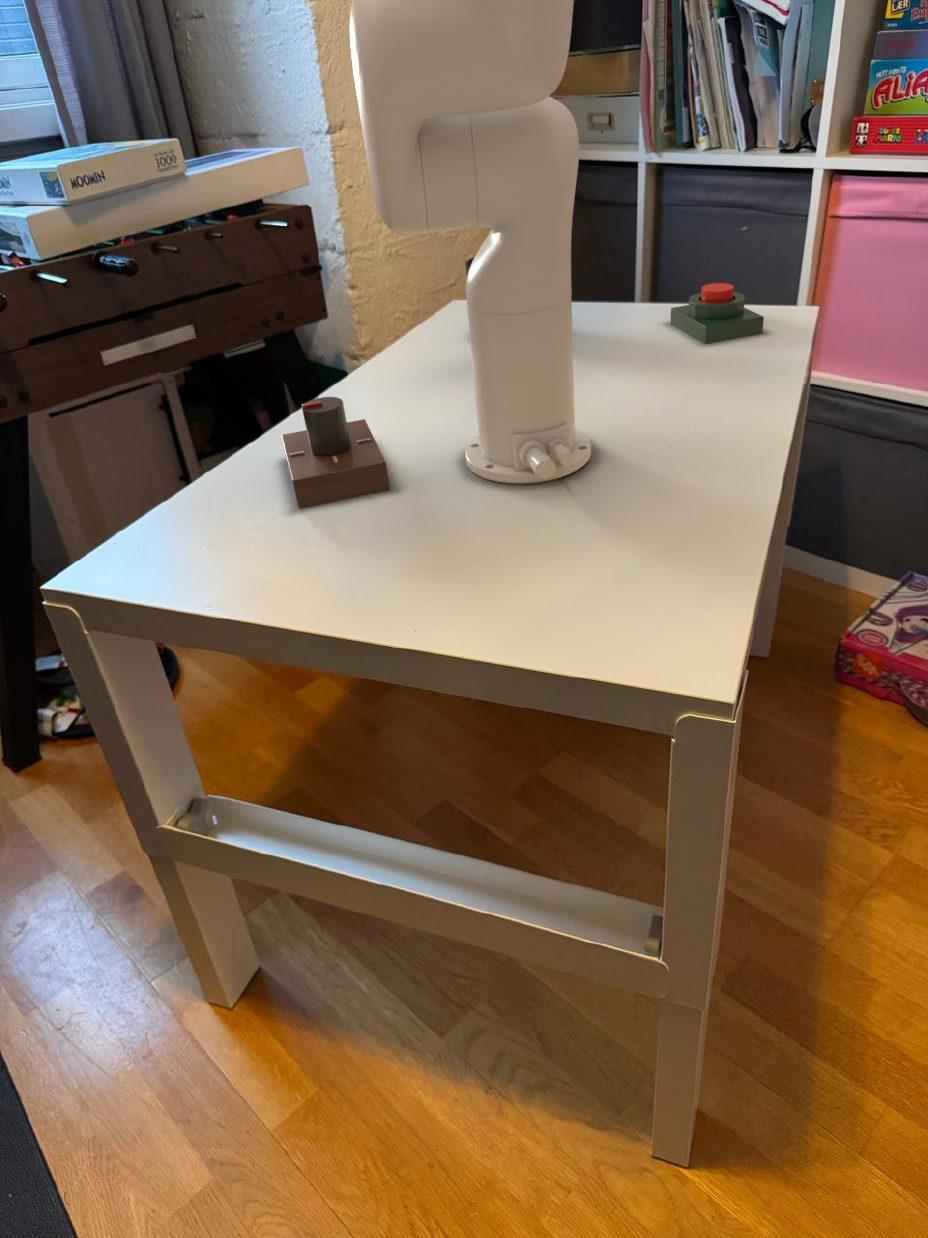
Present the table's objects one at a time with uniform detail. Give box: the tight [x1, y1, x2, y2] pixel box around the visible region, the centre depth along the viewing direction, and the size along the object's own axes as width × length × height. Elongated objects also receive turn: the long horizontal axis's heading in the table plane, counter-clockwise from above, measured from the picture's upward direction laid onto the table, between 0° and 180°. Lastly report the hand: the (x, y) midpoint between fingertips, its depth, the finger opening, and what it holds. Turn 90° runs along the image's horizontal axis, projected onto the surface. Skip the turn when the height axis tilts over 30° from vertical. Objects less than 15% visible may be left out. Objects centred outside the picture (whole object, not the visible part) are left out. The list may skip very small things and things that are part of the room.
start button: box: [700, 282, 735, 303], centre depth 114 cm, size 4×4×2 cm
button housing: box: [670, 291, 765, 345], centre depth 115 cm, size 10×8×4 cm
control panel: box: [280, 418, 391, 510], centre depth 89 cm, size 12×9×3 cm
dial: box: [301, 396, 351, 456], centre depth 87 cm, size 4×4×5 cm
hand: (486, 207), depth 103 cm, fingers open, 9 cm apart
